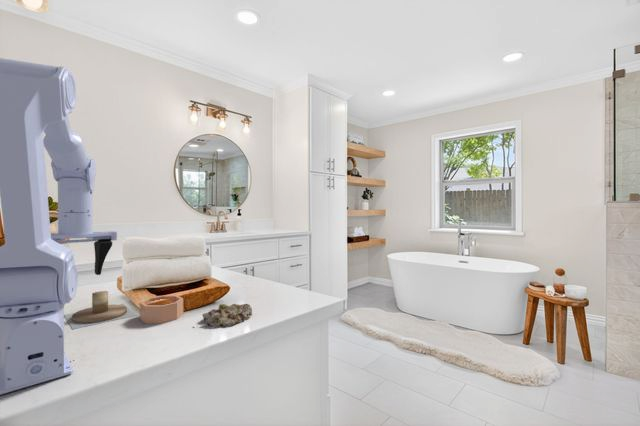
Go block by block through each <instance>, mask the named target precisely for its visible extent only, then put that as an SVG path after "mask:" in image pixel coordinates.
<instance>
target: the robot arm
mask: <svg viewBox="0 0 640 426" xmlns="http://www.w3.org/2000/svg"><path fill="white" fill-rule="evenodd" d="M76 103H77V88H76V82H75V78H74V75H73V73H72V72H71V71H70V70H69V69H68V68H67V67H66V66H56V65H55V66H53V65H49V64H48V65H47V64H39V63H36V62H35V63H33V62H27V61H21V60H17V59H16V60H15V59H8V58H3V57H0V207H1V215H2V216H1V217H2V225H3V232H4V233H3V234H4V244H2V245H1V246H0V395H1V396H2V395H3V394H8V393H10V392H15V391H17V390H20V389H23V388H28V387H31V386H34V385H38V384H42V383H45V382H48V381H52V380H54V379H57V378H61V377H64V376H69V375H71V374H73V372H74V368H73V366H72V364H71V362H70V360H69V358H68V356H67V353H66V351H65V317H64V315H65V305H66V304H69V303H70V302H71V301H72V300H73V299H74V298H75V296H76V294H77V289H78V281H79V280H78V279H79V276H78V268H77V266H76V264H75V256H74V254H73V250H71V249H70V248H68V247H66V246H64V245H63V244H71V243H89V242H94V243H93V248H94V256H95V257H94V274H95V275H96V276H100V275H101V274H102V270H103V266H104V262H105V260H106V258H107V256H108V253H109V252H110V250H111V248H112V247H113V241H117V239H118V236H117V235H118V234H117V233H118V232H117V231H115V230H113V231H111V230H110V231H93V191H95V180H96V174H97V170H96V169H97V168H96V167H97V166H96V162H95V159H94V158H90V156H89V155H88V154H87V151H86V148H85V146H84V143H83V139H82V138H81V136H80V135H79V134H78V133H77V132H75V131H72V129H71V126H70V120H69V117H68V116H69V114H71V113H72V110H73V109H74V108H75V107H76ZM45 150H46V151H47V154H48V156H49V158H50V159H51V163H50V166H51V169H52V175H53V179H54V180H55V181H56V182H57V233H52V232H51V221H50V220H51V218H50V211H49V210H50V209H49V207H50V206H49V196H48V182H47V169H46V156H45ZM68 239H69V240H68Z"/></svg>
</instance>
